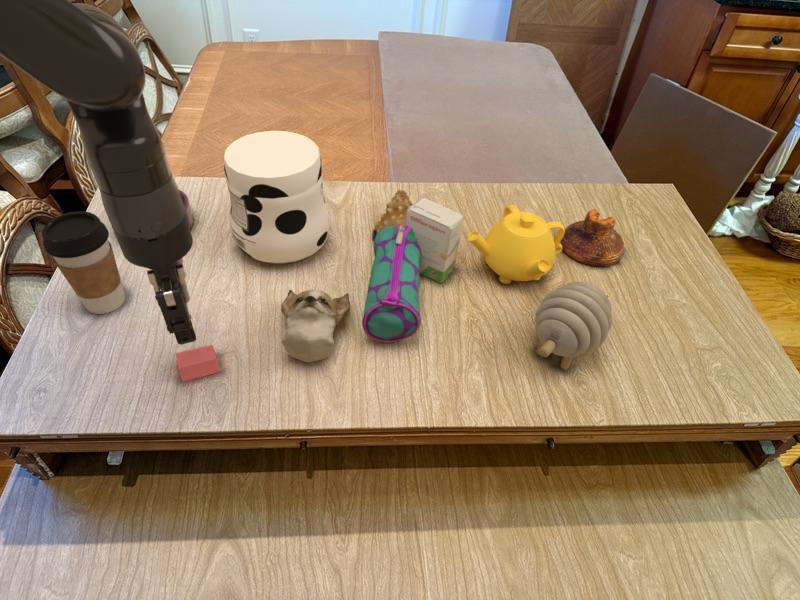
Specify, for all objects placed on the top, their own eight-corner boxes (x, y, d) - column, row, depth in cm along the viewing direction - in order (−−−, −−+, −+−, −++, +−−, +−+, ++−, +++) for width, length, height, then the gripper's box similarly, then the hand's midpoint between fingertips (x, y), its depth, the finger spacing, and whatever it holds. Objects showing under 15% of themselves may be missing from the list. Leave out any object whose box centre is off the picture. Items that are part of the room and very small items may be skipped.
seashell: (369, 237, 106) (376, 186, 103) (409, 242, 108) (416, 191, 105) (375, 246, 97) (383, 190, 95) (419, 251, 99) (427, 196, 96)
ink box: (399, 264, 95) (404, 209, 87) (414, 250, 99) (421, 195, 90) (441, 284, 92) (451, 229, 84) (455, 268, 96) (466, 214, 87)
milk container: (341, 221, 104) (338, 134, 91) (315, 279, 92) (308, 189, 79) (255, 208, 106) (241, 121, 93) (218, 264, 93) (196, 173, 81)
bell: (546, 236, 104) (556, 204, 99) (596, 224, 108) (608, 193, 102) (583, 274, 96) (596, 241, 91) (636, 259, 100) (650, 227, 95)
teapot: (459, 273, 95) (468, 222, 87) (493, 235, 103) (504, 185, 95) (535, 308, 89) (552, 256, 82) (564, 265, 98) (582, 214, 90)
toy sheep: (612, 331, 86) (636, 280, 79) (572, 401, 76) (596, 350, 68) (551, 303, 90) (568, 251, 83) (505, 366, 80) (521, 314, 72)
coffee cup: (77, 326, 82) (35, 248, 71) (75, 290, 87) (36, 213, 76) (136, 311, 84) (104, 235, 74) (131, 278, 90) (101, 202, 79)
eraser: (182, 382, 75) (177, 368, 73) (180, 367, 77) (175, 353, 75) (219, 372, 77) (215, 358, 75) (216, 357, 79) (212, 344, 76)
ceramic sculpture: (262, 328, 71) (283, 260, 82) (268, 372, 77) (287, 303, 88) (343, 333, 71) (352, 265, 83) (343, 376, 77) (352, 307, 88)
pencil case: (371, 258, 96) (373, 213, 90) (420, 262, 96) (426, 218, 90) (359, 346, 81) (361, 301, 75) (418, 351, 81) (424, 306, 75)
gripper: (108, 186, 62) (148, 288, 73) (112, 262, 52) (157, 366, 64) (177, 175, 64) (205, 276, 75) (192, 246, 55) (222, 349, 66)
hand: (183, 317), depth 70 cm, fingers open, 8 cm apart
